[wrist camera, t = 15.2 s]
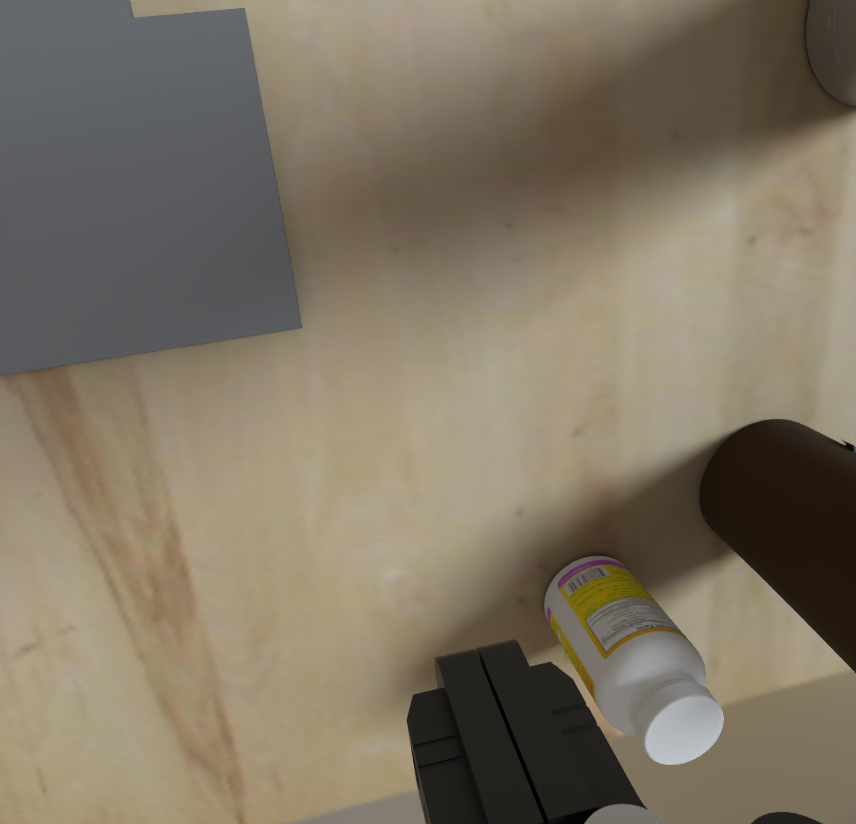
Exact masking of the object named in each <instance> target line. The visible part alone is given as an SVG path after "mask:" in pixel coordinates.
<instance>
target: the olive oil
mask: <svg viewBox="0 0 856 824" xmlns="http://www.w3.org/2000/svg"><path fill="white" fill-rule="evenodd" d="M842 441H843V440H842ZM844 442H845V441H844ZM845 443H846V444H845V445H846V446H845V445H843V444H841V443H839V442H837V441H835V440H833V439H831V438H829V437H827V436H825V435H823V434H821V433H819V432H817V431H815V430H813V429H811V428H809V427H807V426H805V425H802V424H800V423H797V422H794V421H790V420H784V419H773V420H767V421H762V422H759V423H756V424H753V425H751V426H749V427H747V428H745V429H743V430H742V431H740V432H738V433H737V434H736V435H734V436H733V437H732V438H730V439H729V440H728V441H727V442H726V443H725V444H724V445H723V446H722V447H721V448H720V449H719V451H718V452H717V453H716V454H715V456H714V457H713V459H712V460H711V462H710V464H709V466H708V468H707V470H706V472H705V475H704V477H703V481H702V485H701V491H700V504H701V509H702V513H703V516H704V518H705V520H706V522H707V523H708V525H709V526H710V527H711V529H712V530H713V531H714V532H715V533H716V534H717V535H718V536H719V537H720V538H721V539H722V540H723V541H724V542H725V543H726V544H727V545H729V546H730V547H731V548H732V549H733V550H734V551H735V552H736V553H737V554H738V555H739V556H740V557H741V558H742V559H743V560H744V561H745V562H746V563H747V564H748V565H749V566H750V567H751V568H753V569H754V570H755V571H756V572H757V573H758V574H759V575H760V576H761V577H762V578H763V579H764V580H765V581H766V582H767V583H768V584H769V585H770V586H771V587H772V588H773V589H774V590H775V591H776V592H777V593H778V594H779V595H780V596H781V597H782V598H783V599H784V600H785V601H786V602H787V603H788V604H789V605H790V606H791V607H792V608H793V609H794V610H795V611H796V612H797V613H798V614H799V615H800V616H801V617H802V618H803V619H804V620H805V621H806V623H807V624H808V625H809V626H810V627H811V628H812V629H813V630H814V631H815V632H816V633H817V634H818V635H819V636H820V637H821V638H822V639H823V640H824V641H825V642H826V643H827V644H828V645H829V646H830V647H831V648H832V649H833V650H834V651H835V652H836V653H837V654H838V655H839V656H840V657H841V658H842V659H843V660H844V661H845V662H846V663H847V664H848V665H849V667H850V668H851V669H852V670H853V671H854V672H855V673H856V447H855V446H854V445H852V444H849V443H847V442H845Z"/></svg>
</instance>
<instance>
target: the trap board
mask: <svg viewBox="0 0 856 824" xmlns="http://www.w3.org/2000/svg"><path fill="white" fill-rule="evenodd" d="M299 328H302V323H301V318H300V312H299V307H298V301H297V296H296V290H295V285H294V279H293V273H292V268H291V262H290V257H289V251H288V246H287V240H286V235H285V229H284V224H283V218H282V212H281V207H280V201H279V196H278V190H277V185H276V179H275V174H274V168H273V163H272V157H271V151H270V146H269V140H268V135H267V129H266V124H265V118H264V113H263V107H262V102H261V96H260V90H259V85H258V79H257V74H256V68H255V63H254V57H253V52H252V46H251V41H250V35H249V30H248V24H247V18H246V13H245V8H239V9H228V10H217V11H206V12H195V13H184V14H173V15H162V16H151V17H140V18H134V17H133V13H132V8H131V4H130V0H0V375H6V374H12V373H19V372H25V371H31V370H38V369H44V368H51V367H57V366H63V365H70V364H76V363H82V362H89V361H95V360H101V359H108V358H114V357H121V356H127V355H133V354H140V353H146V352H152V351H159V350H165V349H171V348H178V347H184V346H190V345H197V344H203V343H210V342H216V341H222V340H229V339H235V338H241V337H248V336H254V335H260V334H267V333H273V332H280V331H286V330H292V329H299Z"/></svg>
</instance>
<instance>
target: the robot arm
mask: <svg viewBox="0 0 856 824" xmlns="http://www.w3.org/2000/svg"><path fill="white" fill-rule="evenodd" d="M806 45H807V50H808V56H809V61H810V64H811V66H812V69H813V71H814V74H815V76H816V78H817V79H818V81H819V82H820V84H821V85H822V86H823V88H824V89H825V90H826V91H827V92H828V93H829V94H830V95H832V96H833V97H834V98H835V99H837V100H839V101H841V102H844V103H846V104H848V105H852V106H856V0H811V1H810V4H809V10H808V16H807V22H806ZM435 669H436V677H437V684H438V689H435V690H431V691H427V692H423V693H418V694H414V695H413V697H412V701H411V705H410V709H409V713H408V717H407V725H408V731H409V738H410V744H411V750H412V757H413V763H414V769H415V776H416V782H417V787H418V791H419V796H420V800H421V805H422V809H423V813H424V817H425V822H426V824H667V823H666V822H665V821H664V820H663V819H662V818H660V817H659V816H658V815H656V814H655V813H653V812H651V811H649V810H648V809H647V808H646V807H645V806H644V805H643V803H642V802H641V800H640V799H639V797H638V795H637V794H636V792H635V790H634V788H633V786H632V785H631V783H630V781H629V779H628V777H627V776H626V774H625V772H624V770H623V769H622V767H621V765H620V763H619V762H618V759H617V758H616V756H615V754H614V752H613V751H612V749H611V747H610V745H609V743H608V742H607V740H606V738H605V736H604V734H603V733H602V731H601V729H600V727H599V726H597V723H596V720H595V718H594V716H593V715H592V713H591V711H590V709H589V707H587V706H586V702H585V700H584V698H583V697H582V695H581V693H580V691H579V689H578V688H577V686H576V684H575V682H574V681H573V679H572V678H571V677H569V676H568V675H567V674H565V673H564V672H563V671H562V670H560V669H559V668H558V667H557V666H555V665H554V664H553V663H552V662H548V663H544V664H539V665H535V666H531V667H530V666H529V664H528V662H527V660H526V658H525V656H524V654H523V652H522V650H521V648H520V646H519V644H518V642H517V641H516V640H515V639H514V640H509V641H505V642H501V643H496V644H492V645H488V646H483V647H479V648H476V651H475V650H474V649H471V650H467V651H463V652H458V653H454V654H450V655H445V656H441V657H437V658H435ZM752 824H821V823H820V822H818V821H816V820H813V819H811V818H808V817H806V816H803V815H799V814H796V813H789V812H775V813H769V814H766V815H763V816H761V817H759V818H757V819H756V820H755V821H754V822H753V823H752Z"/></svg>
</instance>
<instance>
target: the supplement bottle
mask: <svg viewBox="0 0 856 824" xmlns="http://www.w3.org/2000/svg"><path fill="white" fill-rule="evenodd" d="M544 609H545V614H546V618H547V620H548V622H549V624H550V626H551V628H552V630H553V631H554V633H555V635H556V637H557V638H558V640H559V642H560V643H561V645H562V647H563V648H564V650H565V652H566V653H567V655H568V657H569V659H570V660H571V662H572V664H573V665H574V667H575V669H576V670H577V672H578V674H579V675H580V677H581V679H582V680H583V682H584V684H585V686H586V687H587V689H588V691H589V692H590V694H591V696H592V698H593V699H594V701H595V703H596V705H597V706H598V708H599V710H600V711H601V713H602V715H603V716H604V717H605V719H606V720H607V721H608V722H609V723H610V724H611V725H612V726H614V727H615V728H617V729H618V730H620V731H622V732H625V733H628V734H632V735H636V738H637V740H638V741H639V743H640V744H641V746H642V747H643V749H644V750H645V751H646V753H647V755H648V756H649V757H650V758H651V759H652V760H654V761H656V762H658V763H661V764H666V765H674V764H681V763H685V762H688V761H691V760H693V759H695V758H697V757H699V756H700V755H702V754H703V753H704V752H706V751H707V750H708V749H709V748H710V747H711V746H712V745H713V744H714V742H715V741H716V740H717V738H718V737H719V734H720V733H721V730H722V727H723V721H724V717H723V712H722V709H721V707H720V705H719V704H718V703H717V701H716V700H715V699H714V698H713V696H712V695H711V693H710V692H709V690H708V689H707V688H705V684H706V670H705V665H704V662H703V660H702V658H701V656H700V654H699V652H698V651H697V650H696V648H695V647H694V646H693V645H692V643H691V642H690V641H689V640H688V639H687V638H686V636H685V635H684V634H683V633H682V632H681V631H680V629H679V628H678V627H677V626H676V625H675V624H674V622H673V621H672V620H671V619H670V618H669V617H668V615H667V614H666V613H665V612H664V611H663V609H662V608H661V607H660V606H659V605H658V604H657V602H656V601H655V600H654V599H653V598H652V596H651V595H650V594H649V593H648V592H647V591H646V589H645V588H644V587H643V586H642V585H641V584H640V582H639V581H638V580H637V579H636V578H635V576H634V575H633V574H632V573H631V572H630V571H629V570H628V569H627V568H626V566H624V565H623V564H622V563H621V562H619V561H617V560H615V559H613V558H610V557H605V556H590V557H585V558H581V559H579V560H576V561H574V562H572V563H570V564H569V565H567V566H566V567H564V568H563V569H562V570H561V571H560V572H559V573H558V574H557V575H556V576H555V577H554V579H553V580H552V582H551V583H550V585H549V587H548V590H547V592H546V596H545V601H544Z"/></svg>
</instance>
